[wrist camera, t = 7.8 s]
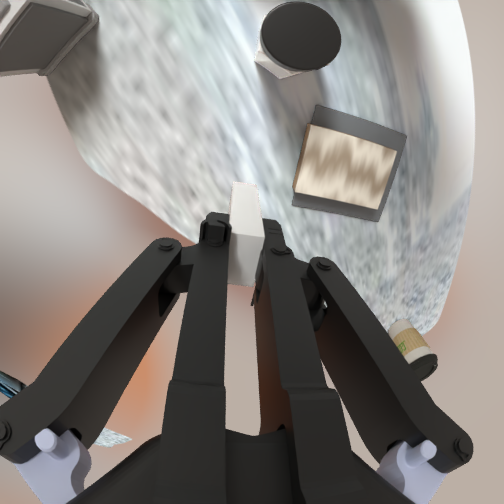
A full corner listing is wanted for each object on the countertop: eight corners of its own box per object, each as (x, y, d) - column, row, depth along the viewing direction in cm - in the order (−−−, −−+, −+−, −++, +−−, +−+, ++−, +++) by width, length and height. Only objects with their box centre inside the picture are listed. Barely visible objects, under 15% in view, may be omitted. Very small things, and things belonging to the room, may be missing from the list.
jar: (308, 84, 33) (336, 82, 23) (250, 75, 33) (255, 66, 22) (317, 30, 29) (346, 9, 19) (259, 19, 28) (267, -9, 18)
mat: (316, 104, 35) (316, 104, 35) (406, 135, 37) (407, 135, 37) (291, 204, 43) (292, 204, 43) (377, 221, 45) (378, 222, 45)
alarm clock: (11, 26, 20) (-58, 27, 5) (58, -29, 16) (-5, -50, 1) (46, 78, 29) (-34, 91, 13) (101, 19, 25) (28, -5, 9)
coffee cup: (374, 333, 62) (395, 383, 49) (404, 308, 58) (431, 356, 45) (393, 344, 65) (413, 388, 53) (421, 321, 61) (445, 364, 49)
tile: (311, 125, 34) (396, 151, 36) (307, 123, 36) (389, 147, 38) (295, 192, 39) (377, 209, 41) (292, 186, 41) (371, 203, 43)
